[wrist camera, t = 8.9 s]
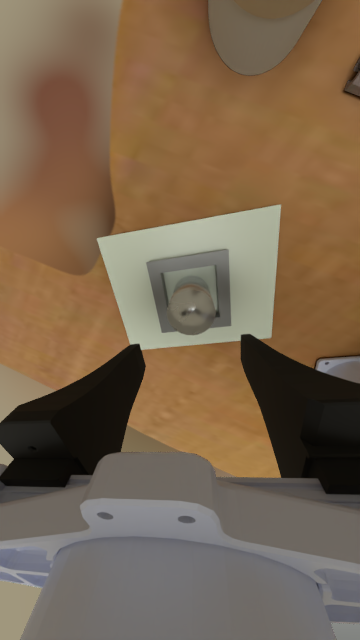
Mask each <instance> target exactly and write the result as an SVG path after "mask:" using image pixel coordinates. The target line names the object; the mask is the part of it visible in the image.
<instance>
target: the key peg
mask: <svg viewBox="0 0 360 640" xmlns="http://www.w3.org/2000/svg"><path fill="white" fill-rule="evenodd" d="M215 315H216V310H215V306H214V303H213V300H212V297H211V293H210V290H209V287H208V285H207V283H206V282H205V281H204V280H203V279H202V278H200V277H197V276H186V277H184V278H182V279H181V280H180V281H179V282H178V283H177V284H176V286H175V289H174V292H173V294H172V297H171V299H170V302H169V304H168V307H167V318H168V321H169V323H170V325H171V326H172V327H173V328H174V329H175V330H176V331H178V332H179V333H182V334H185V335H198V334H201V333H203V332H205V331H206V330H208V329H209V328H210V327H211V325H212V324H213V322H214V320H215Z"/></svg>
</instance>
